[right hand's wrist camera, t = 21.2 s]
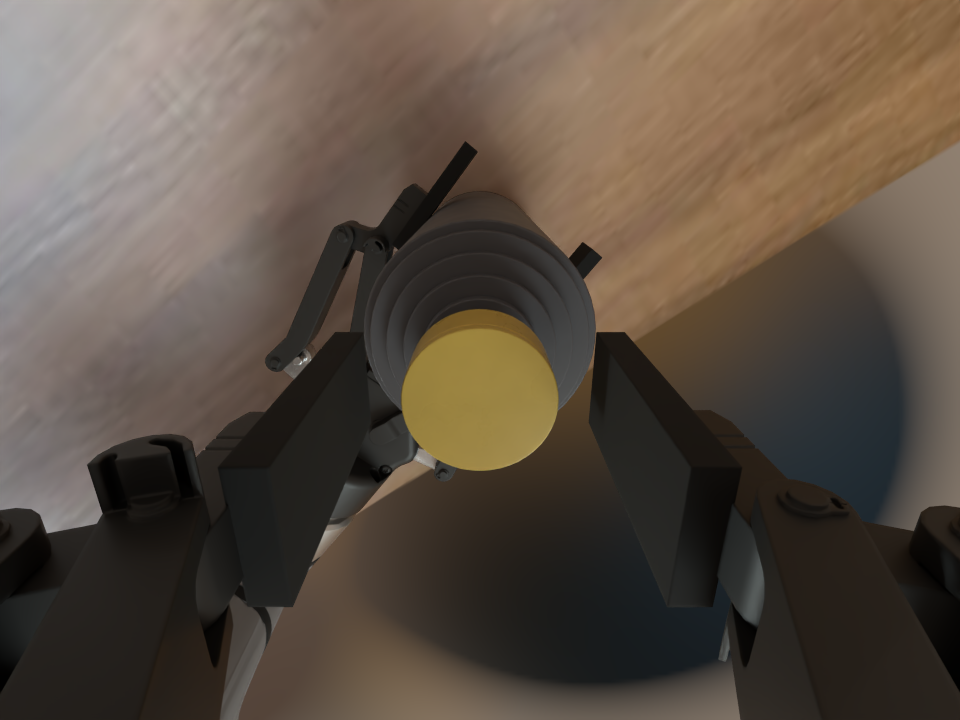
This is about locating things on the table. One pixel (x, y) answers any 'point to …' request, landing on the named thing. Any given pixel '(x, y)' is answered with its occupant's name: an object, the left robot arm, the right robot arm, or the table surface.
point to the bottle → (479, 289)
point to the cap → (479, 391)
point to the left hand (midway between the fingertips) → (533, 200)
